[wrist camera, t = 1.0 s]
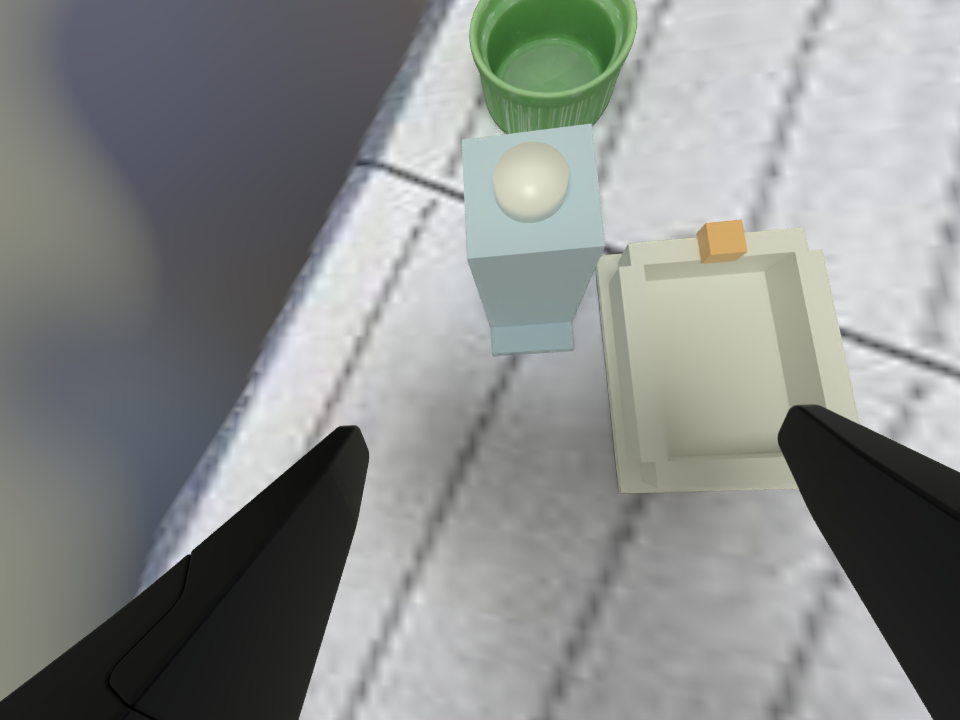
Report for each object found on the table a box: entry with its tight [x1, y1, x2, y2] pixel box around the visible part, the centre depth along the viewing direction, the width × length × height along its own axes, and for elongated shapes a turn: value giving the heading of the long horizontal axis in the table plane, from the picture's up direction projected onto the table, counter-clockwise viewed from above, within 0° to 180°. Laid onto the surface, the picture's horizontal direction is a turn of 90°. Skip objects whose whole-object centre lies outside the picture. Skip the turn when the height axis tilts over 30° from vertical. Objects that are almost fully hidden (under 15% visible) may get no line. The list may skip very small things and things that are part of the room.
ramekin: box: [469, 0, 637, 134], centre depth 23 cm, size 9×9×4 cm
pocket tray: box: [595, 220, 860, 494], centre depth 19 cm, size 13×10×4 cm
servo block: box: [462, 124, 605, 356], centre depth 18 cm, size 8×4×11 cm, turn 3°
